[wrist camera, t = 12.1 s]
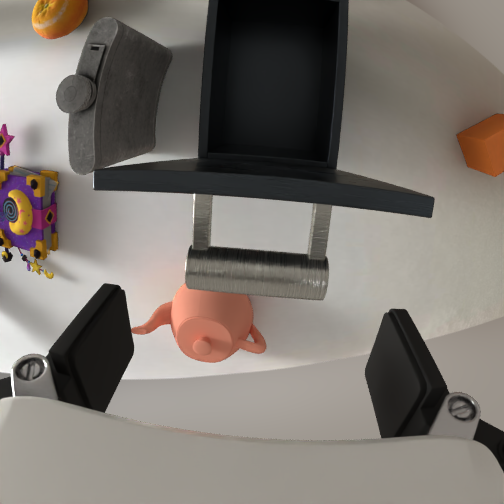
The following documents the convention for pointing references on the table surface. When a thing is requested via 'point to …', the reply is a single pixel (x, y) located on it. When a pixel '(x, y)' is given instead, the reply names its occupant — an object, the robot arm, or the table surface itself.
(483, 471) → the robot arm
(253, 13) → the bin
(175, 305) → the teapot
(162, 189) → the bin lid
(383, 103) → the table surface
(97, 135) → the flask
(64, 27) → the fruit
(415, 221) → the table surface
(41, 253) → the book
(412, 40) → the table surface
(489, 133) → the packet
